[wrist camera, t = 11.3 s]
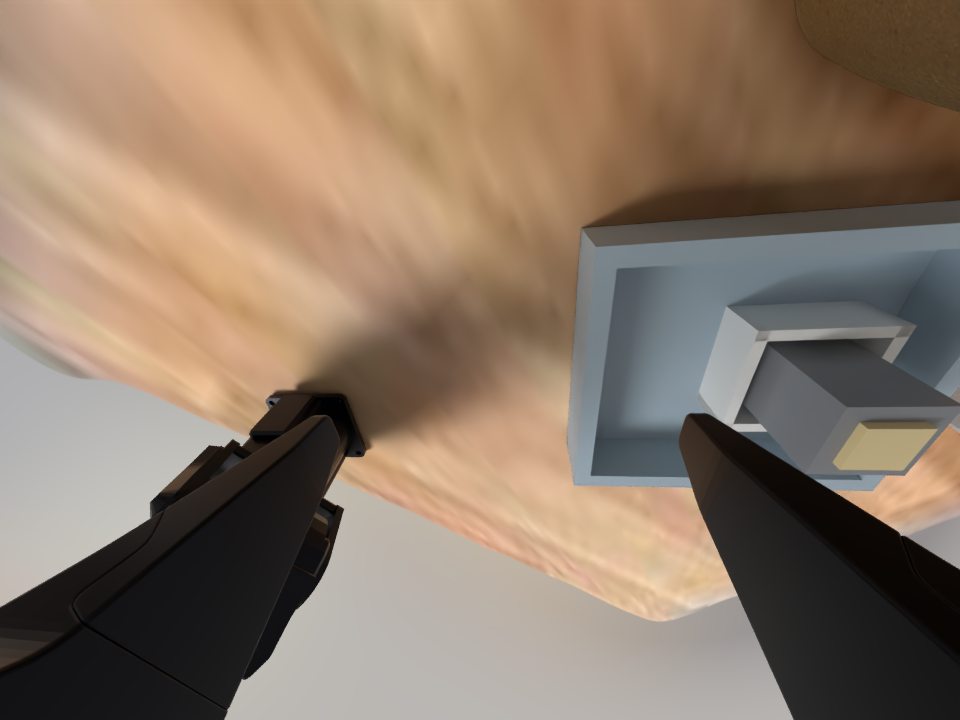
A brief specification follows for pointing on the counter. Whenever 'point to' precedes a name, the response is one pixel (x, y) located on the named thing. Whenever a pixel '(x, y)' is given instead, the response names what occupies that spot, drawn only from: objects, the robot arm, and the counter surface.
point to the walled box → (737, 282)
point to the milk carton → (959, 421)
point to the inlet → (786, 322)
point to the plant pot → (891, 43)
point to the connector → (845, 408)
